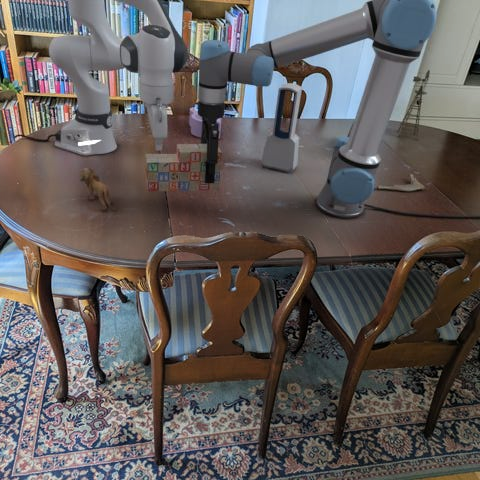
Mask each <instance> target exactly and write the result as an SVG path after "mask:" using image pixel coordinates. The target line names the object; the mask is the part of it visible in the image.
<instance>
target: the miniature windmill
mask: <svg viewBox="0 0 480 480" xmlns="http://www.w3.org/2000/svg"><path fill="white" fill-rule="evenodd" d="M430 74H431V73H430V69H428V70H427V71H426V73H425V77H424V78H421V77H418V76H413V79H412V82H413V83H418V82H419V83H420V82H421V85H420V86H419V89H418V90H414V93H415V96H414V98H413V100H412V102H411V104H410V105H409V108H408V110H407V111H406V114H405V115H404V118H402V122H401V123H400V125H399V127H398V129H397V132H399V135H398V137H400V138H401V136H402V133H403V131H411V132H413V135H415V140H418V134H419V126H420V125H419V124H420V120H421V119H420V118H421V117H420V116H421V110H422V109H421V108H422V107H421V106H422V100H423V98H422V97H423V95H427V94H428V93H427V92H426V91H425V90H426V88H427V84H428V81H429V78H430ZM417 101H418V105H416V103H417ZM413 110H417V112H416V114H412V111H413ZM410 116H412V117H410ZM414 117H416V118H414ZM410 119H411V120H415V124H413V125H412V124H407V122H408V120H410ZM406 126H407V127H414V129H408V128H405V127H406ZM416 137H417V138H416Z"/></svg>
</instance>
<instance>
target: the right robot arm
mask: <svg viewBox="0 0 480 480" xmlns="http://www.w3.org/2000/svg"><path fill="white" fill-rule="evenodd" d="M435 5H436V4H435V2H434V1H433V0H369V1H366V2H364V4H363V5H362V7H361V8H359V9H356V10H353V11H351V12H347V13H345V14H342V15H339V16H337V17H334V18H333V17H332V18H330V19H328V20H326V21H322V22H319V23H316V24H314V25H311V26H308V27H305V28H302V29H298V30H297V31H293V32H291V33H288V34H286V35H282V36H280V37H277V38H274V39H271V40H269V41H265V42H263V43H260V42H259V43H256V44H253V45H251V46H250V47H249V48H248V49H247V50H246V53H244V52H236V51H232V50H231V49H230V43H228V42H227V41H223V40H219V39H206V40H204V41H202V43H201V44H200V51H199V58H198V61H199V62H198V63H199V65H198V67H199V68H198V69H199V72H198V86H197V88H198V89H197V100H198V102H197V112H198V115H199V116H201V117H202V133H201V137H200V144H207V161H204V163H205V164H206V169H205V183H214V179H215V164H217V163H218V146H219V139H220V138H219V133H220V134H221V132H219V130H218V128H219V125H218V123H217V119H219V118H221V119H222V118H224V117H225V111H226V103H225V102H226V98H227V97H226V95H227V93H228V92H229V90H228V89H227V83H236V84H242V85H248V86H254V87H267V88H268V87H269V86H270V85H271V84H272V81H273V76H274V70H276V69H279V68H281V67H284V66H289V65H291V64H293V63H296V62H297V63H298V62H300V61H303V60H306V59H309V58H312V57H315V56H317V55H322V54H324V53H327V52H331V51H334V50H336V49H339V48H342V47H345V46H348V45H351V44H354V43H357V42H361V41H364V40H366V39H369V40H372V44H371V48H372V49H373V52H374V54H375V55H374V59H373V62H372V64H371V68H370V71H369V74H368V77H367V80H366V83H365V86H364V90H363V93H362V96H361V99H360V102H359V105H358V108H357V111H356V114H355V118H354V120H353V122H354V124H353V123H352V124H353V127H352V126H351V127H352V130H351V133H350V136H349V137H347V136H340V137H338V138H336V140H335V141H334V145H333V150H332V155H331V159H330V164H329V169H328V172H327V177H326V182H325V183H324V185H323V187H322V189H321V190H320V191H319V193H318V195H317V198H316V206H317V208H318V209H319V210H320V211H322V213H324V214H327V215H328V216H332V217H335V218H340V219H354V218H358V217H361V215H362V214H363V213H364V210H365V207H367V208H371V209H374V210H378V211H383V212H388V213H392V214H399V215H406V216H417V217H432V218H448V219H449V218H451V219H453V218H454V219H456V218H457V219H480V215H455V214H454V215H452V214H451V215H450V214H432V213H431V214H429V213H417V212H416V213H415V212H406V211H398V210H393V209H389V208H388V209H387V208H383V207H379V206H375V205H370V204H367V203H365V201H366V200H368V199H369V198H370V197H371V196H372V195H373V193H374V190H375V177H376V176H377V175H376V174H377V172H378V169H379V166H380V164H381V161H382V159H381V156H380V154H379V150H380V147H381V145H382V142H383V139H384V136H385V134H386V131H387V128H388V125H389V122H390V120H391V117H392V114H393V112H394V109H395V106H396V103H397V101H398V98H399V95H400V93H401V90H402V87H403V84H404V81H405V78H406V76H407V73H408V70H409V67H410V65H411V64H412V63H413V62H414V61H416V60H417V59H419V58H420V56H421V53H422V51H423V48H424V46H425V43H426V42H427V40H429V38H430V37H431V36H432V34H433V32H434V30H435V29H436V25H437V20H438V18H437V16H438V13H437V8H436V6H435Z"/></svg>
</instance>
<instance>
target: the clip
mask: <svg viewBox="0 0 480 480" xmlns="http://www.w3.org/2000/svg"><path fill="white" fill-rule="evenodd" d="M188 119H189V120H188V121H189V122H188V125H189V127H190V134H191V135H193V136H195V137H197V138H201V133H202V117H201V116H199V115H198V111H196V108H195V107H190V108H189V118H188ZM217 123H218V125H219V128H218V130H219V132H220V133H219V139H221V131H222V118H219V119H217Z"/></svg>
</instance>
